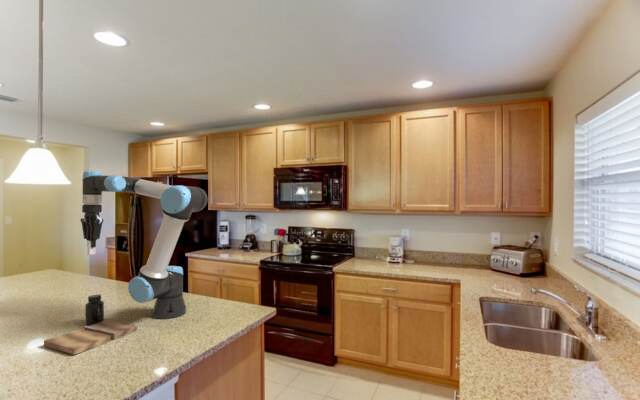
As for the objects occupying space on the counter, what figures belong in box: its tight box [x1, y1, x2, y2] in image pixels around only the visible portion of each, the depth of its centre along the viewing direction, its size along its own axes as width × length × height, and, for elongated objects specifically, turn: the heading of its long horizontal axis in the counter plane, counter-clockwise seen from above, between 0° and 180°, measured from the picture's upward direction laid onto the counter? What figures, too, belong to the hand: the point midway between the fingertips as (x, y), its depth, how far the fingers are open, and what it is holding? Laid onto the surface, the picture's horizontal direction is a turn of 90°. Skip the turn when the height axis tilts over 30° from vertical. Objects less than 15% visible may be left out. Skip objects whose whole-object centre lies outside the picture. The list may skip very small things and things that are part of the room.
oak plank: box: [43, 328, 112, 355], centre depth 123 cm, size 13×18×2 cm
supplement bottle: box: [84, 294, 105, 326], centre depth 145 cm, size 7×7×12 cm
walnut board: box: [84, 319, 138, 341], centre depth 135 cm, size 10×18×2 cm, turn 68°
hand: (91, 254), depth 152 cm, fingers closed
